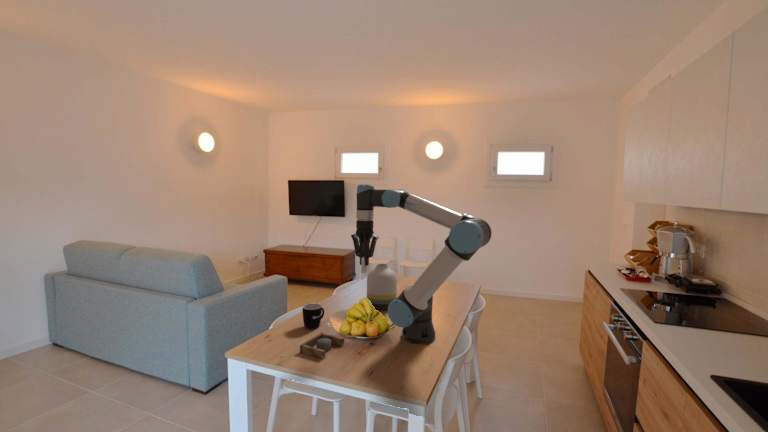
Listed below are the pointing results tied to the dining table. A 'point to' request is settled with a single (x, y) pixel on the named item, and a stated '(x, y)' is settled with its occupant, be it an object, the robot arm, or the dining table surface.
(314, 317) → the mug
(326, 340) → the puck
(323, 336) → the corral
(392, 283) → the vase
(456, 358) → the dining table surface
